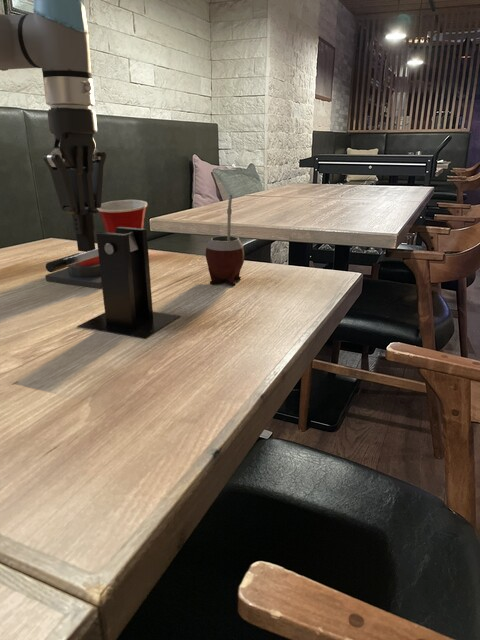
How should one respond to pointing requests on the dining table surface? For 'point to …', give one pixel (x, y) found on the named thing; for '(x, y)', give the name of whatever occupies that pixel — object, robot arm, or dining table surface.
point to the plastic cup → (123, 214)
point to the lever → (83, 257)
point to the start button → (90, 262)
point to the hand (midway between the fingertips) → (86, 250)
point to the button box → (78, 276)
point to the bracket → (126, 287)
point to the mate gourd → (225, 256)
